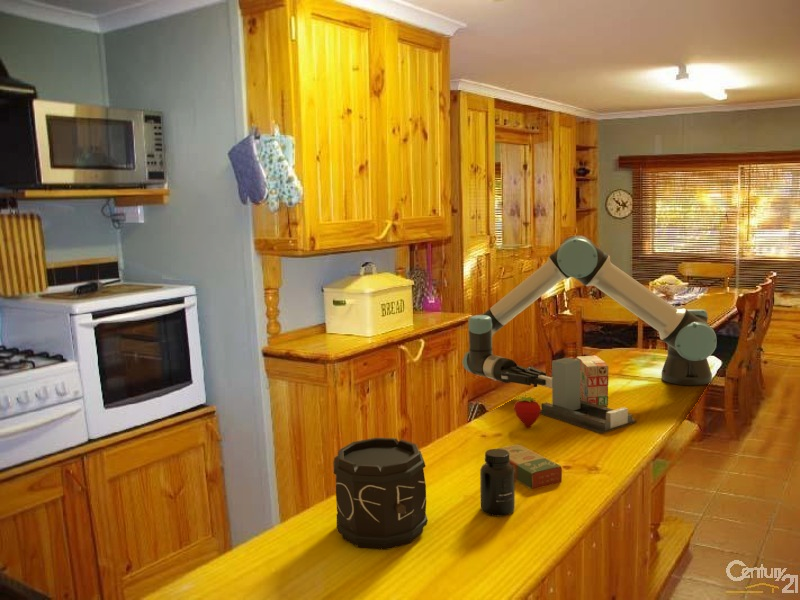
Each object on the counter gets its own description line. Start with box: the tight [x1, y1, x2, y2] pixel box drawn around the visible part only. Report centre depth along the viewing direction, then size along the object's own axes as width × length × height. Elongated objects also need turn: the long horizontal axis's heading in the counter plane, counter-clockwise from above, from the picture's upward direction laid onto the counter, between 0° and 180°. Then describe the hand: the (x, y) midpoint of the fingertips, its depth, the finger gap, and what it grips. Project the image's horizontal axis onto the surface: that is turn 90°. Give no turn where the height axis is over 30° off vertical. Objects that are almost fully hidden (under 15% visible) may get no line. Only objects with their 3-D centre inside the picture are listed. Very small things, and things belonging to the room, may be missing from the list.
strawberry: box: [513, 391, 541, 429], centre depth 191 cm, size 6×8×10 cm
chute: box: [540, 399, 637, 434], centre depth 198 cm, size 14×23×5 cm, turn 34°
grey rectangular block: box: [551, 357, 581, 411], centre depth 203 cm, size 6×5×14 cm
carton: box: [498, 443, 563, 491], centre depth 161 cm, size 8×16×4 cm, turn 26°
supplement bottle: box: [479, 448, 516, 517], centre depth 143 cm, size 7×7×12 cm
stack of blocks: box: [575, 355, 610, 407], centre depth 217 cm, size 21×6×12 cm, turn 1°
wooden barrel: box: [332, 437, 428, 551], centre depth 136 cm, size 18×18×16 cm
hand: (555, 384), depth 206 cm, fingers closed
